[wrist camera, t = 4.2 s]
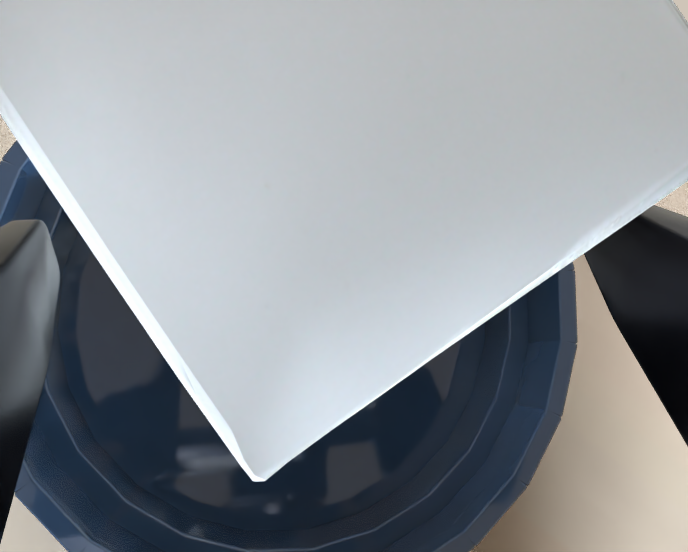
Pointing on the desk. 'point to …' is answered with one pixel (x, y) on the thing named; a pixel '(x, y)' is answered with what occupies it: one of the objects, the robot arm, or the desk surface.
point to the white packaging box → (338, 175)
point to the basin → (307, 467)
